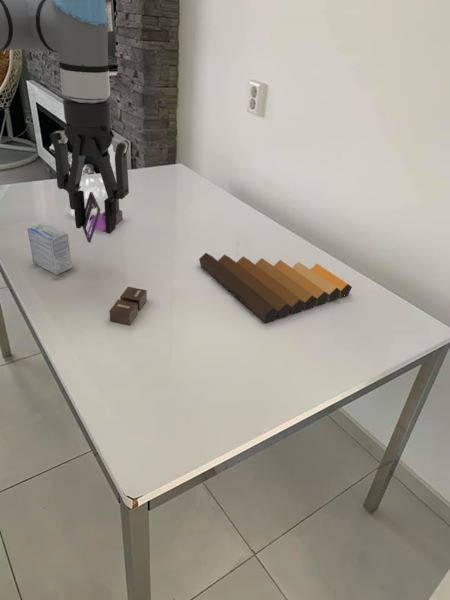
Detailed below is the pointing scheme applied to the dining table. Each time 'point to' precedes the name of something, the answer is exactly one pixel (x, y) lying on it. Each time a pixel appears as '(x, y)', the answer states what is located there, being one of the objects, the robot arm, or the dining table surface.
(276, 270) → the pan flute
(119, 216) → the brown block
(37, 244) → the medicine box
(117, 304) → the brown segmented bar
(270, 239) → the dining table surface
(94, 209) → the game card
